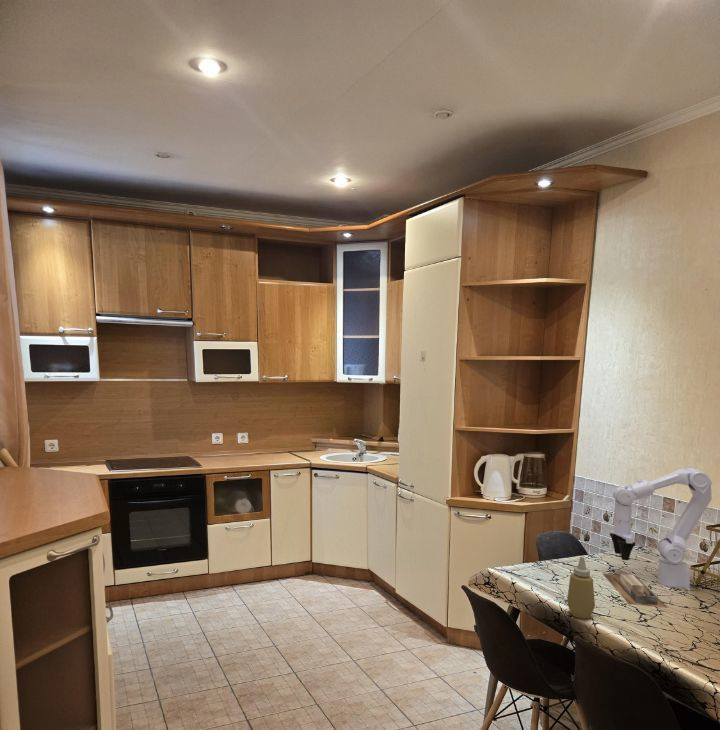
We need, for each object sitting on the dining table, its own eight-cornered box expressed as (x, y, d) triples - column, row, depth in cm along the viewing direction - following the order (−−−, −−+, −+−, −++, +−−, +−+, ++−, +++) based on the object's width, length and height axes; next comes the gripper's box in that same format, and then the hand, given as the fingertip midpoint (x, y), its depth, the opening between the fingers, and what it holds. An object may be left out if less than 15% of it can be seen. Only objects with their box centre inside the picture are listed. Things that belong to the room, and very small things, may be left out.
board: (635, 578, 191) (636, 569, 191) (668, 610, 165) (668, 599, 165) (602, 575, 193) (602, 567, 193) (629, 606, 167) (629, 596, 167)
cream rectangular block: (632, 583, 185) (632, 574, 185) (643, 594, 175) (643, 585, 175) (620, 581, 185) (620, 573, 185) (631, 593, 175) (631, 584, 175)
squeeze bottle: (560, 611, 161) (562, 554, 162) (579, 607, 165) (581, 551, 165) (581, 623, 154) (582, 563, 154) (600, 619, 157) (602, 560, 158)
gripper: (604, 514, 198) (603, 549, 198) (618, 524, 183) (617, 562, 183) (623, 515, 197) (622, 550, 197) (639, 526, 183) (638, 564, 182)
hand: (621, 556), depth 190 cm, fingers open, 6 cm apart
